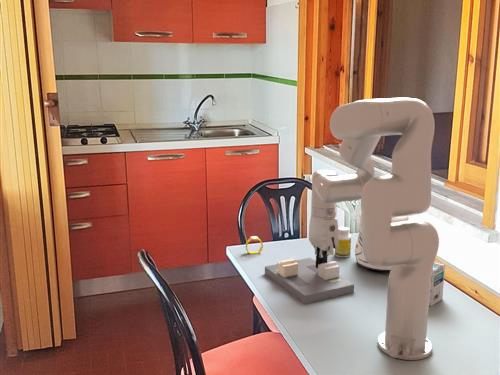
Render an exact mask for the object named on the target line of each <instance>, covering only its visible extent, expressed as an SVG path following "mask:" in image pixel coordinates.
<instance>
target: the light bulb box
mask: <svg viewBox="0 0 500 375" xmlns="http://www.w3.org/2000/svg"><path fill="white" fill-rule="evenodd" d="M445 268H446V264H445V263H441V262H437V261H434V265H433V270H432V277H431V287H430V297H429V306H431V307H432V306H435V305H436V304H437V303H439V302H440V301H441V300H443V296H444V284H445V283H444V281H445Z"/></svg>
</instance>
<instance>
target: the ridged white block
mask: <svg viewBox="0 0 500 375" xmlns="http://www.w3.org/2000/svg"><path fill="white" fill-rule="evenodd" d="M339 275H340V265H338V262H337V261H336V260H334V261H329V262H328V261H327V263H323V264H319V265H318V276H320V277H321V278H323V279H324V280H328V279H333V278H337V277H339Z"/></svg>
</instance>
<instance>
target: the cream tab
mask: <svg viewBox="0 0 500 375" xmlns="http://www.w3.org/2000/svg"><path fill="white" fill-rule="evenodd" d="M296 260H297V259H296V258H289V259H285V260H280V261H277V264H278V271H277V273H278V274H280V275H281V276H283V277H288V276H293V275H298V263H296Z"/></svg>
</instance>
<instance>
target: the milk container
mask: <svg viewBox="0 0 500 375" xmlns="http://www.w3.org/2000/svg"><path fill="white" fill-rule="evenodd" d="M401 221H409V216H403V217H395V218H392V220H391V223H395V222H401ZM357 236H358V237H357V241H356V243H355V247H354V257H355V259H356V262H357V263H358V264H359V265H360V266H362V267H363V268H366V269H367V270H372V271H378V272H390V271H391V269H392V266H387V267H375V266H372V265H371V264H369V263H368V261H367V260H366V258H365V256H364V253H363V247H362V226H361V211H359V219H358V235H357Z"/></svg>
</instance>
